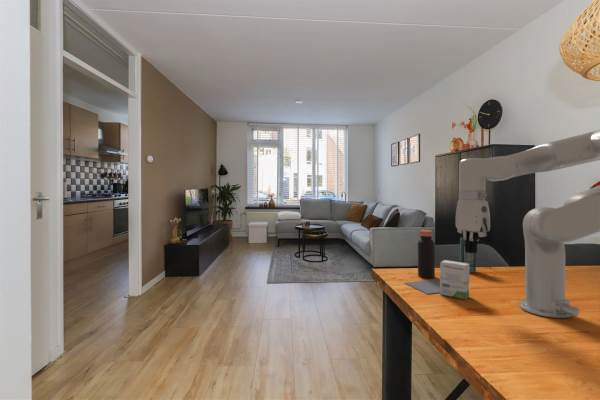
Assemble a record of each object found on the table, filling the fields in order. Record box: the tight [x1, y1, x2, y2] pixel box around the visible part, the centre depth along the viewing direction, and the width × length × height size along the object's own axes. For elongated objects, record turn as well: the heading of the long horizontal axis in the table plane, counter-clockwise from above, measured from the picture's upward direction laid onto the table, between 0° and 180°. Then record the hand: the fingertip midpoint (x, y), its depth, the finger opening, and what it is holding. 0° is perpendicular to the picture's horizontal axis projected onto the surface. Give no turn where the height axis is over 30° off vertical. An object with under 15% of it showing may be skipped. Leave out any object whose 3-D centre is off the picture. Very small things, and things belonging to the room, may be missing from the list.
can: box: [459, 237, 477, 273], centre depth 139 cm, size 6×6×15 cm
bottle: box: [417, 229, 436, 279], centre depth 131 cm, size 7×7×20 cm
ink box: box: [439, 259, 470, 301], centre depth 106 cm, size 8×5×12 cm, turn 50°
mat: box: [404, 278, 440, 295], centre depth 117 cm, size 14×16×1 cm
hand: (471, 252), depth 99 cm, fingers closed
